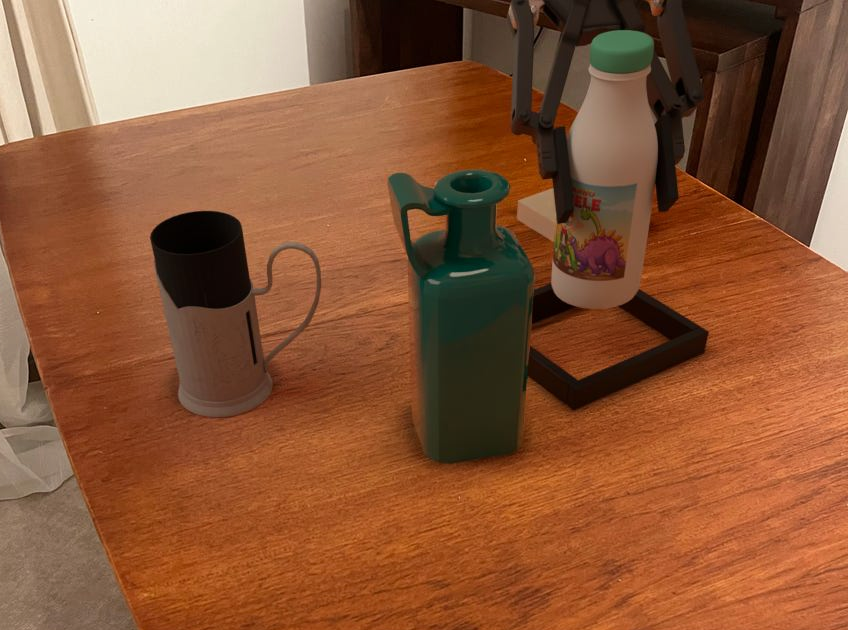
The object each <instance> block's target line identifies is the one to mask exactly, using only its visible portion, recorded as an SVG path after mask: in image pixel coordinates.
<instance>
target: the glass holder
mask: <svg viewBox="0 0 848 630" xmlns="http://www.w3.org/2000/svg"><path fill="white" fill-rule="evenodd" d="M149 239H150V240H149V241H150V244H151V249H152V254H153V258H154V259H153V266H154V272H155V277H156V282H157V286H158V291H159V294H160V299H161V303H162V308H163V312H164V317H165V321H166V325H167V330H168V334H169V335H168V336H169V339H170V344H171V348H172V352H173V357H174V361H175V365H176V370H177V374H178V379H179V385H178V390H177V397H178V400H179V403H180V405H181V406H182V407H183V408H185V409H186V410H187V411H188V412H190V413H193V414H195V415H198V416H201V417H206V418H228V417H229V418H230V417H234V416H235V417H236V416H239V415H241V414H245V413H247V412H250V411H252V410H254V409H256V408H257V407H259V406H261V405H262V404H263V403H264V402H265V401H266V400H267V399H268V398H269V396H270V395H271V394H272V390H273V385H274V384H273V382H274V381H273V379H272V377H271V374H270V373H269V363H270V362H271V361H272V359H274V358H275V356H277V355H278V354H279V353H280V352H281V351H283V350H284V349H285V348H287V346H288V345H290V344H291V343H292V342H293V341H294V340H295V339H296V338H297V337H298V336H300V334H302V333H303V332H304V331H305V329H307V327H309V325H310V323H311V321H312V319H313V317H314V316H315V313H316V311H317V308H318V305H319V302H320V297H321V291H322V268H321V266H320V262H319V258H318V257H317V255H316V253H315V252H314V251H313V249H311V248H310V247H308V246H307V245H305V244H303V243H299V242H296V241H287V242H284V243H281V244H278V246H276V247H275V248H273V250H272V251H271V253H270V254H269V256H268V260H267V265H266V276H267V285H266V286H264V287H263V288H254V284H253V280H252V279H251V278H250V272H249V270H250V269H249V263H248V258H247V250H246V244H245V237H244V232H243V226H242V223H241V221H240V220H239V218H237V217H236V216H234V215H232V214H229V213H227V212H222V211H216V210H198V211H197V210H195V211H187V212H183V213H179V214H177V215H174V216H171V217H169V218H166V219H165V220H163V221H161V222H160V223H158V224H157V225H156V226H155V227H154V228H153V229H152V231H151V232H150V236H149ZM289 249H290V250H291V249H292V250H298V251H300V252H303V253H305V254H307V255H308V256H309V257H310V259H311V260H312V262H313V265H314V268H315V272H316V290H315V295H314V299H313V302H312V305H311V307H310V310H309V312H308V313H307V316H306V317H305V319H304V320H303V321H302V323H300V325H299V326H298V327H297V328H296V329H295V330H294V331H293V332H292V333H291V334H290V335H289V336H288V337H287V338H285V339H284V340H283V341H282V342H280V343H279V344H278V345H277V346H276V347H275V348H274V349H272V351H270V352H269V354H268V355H267V356H266V357H265V356H264V349H263V343H262V337H261V330H260V322H259V316H258V310H257V303H256V297H257V296H263V295H266V294H268V293H269V292H270V291H271V290H272V287H273V263H274V260H275V259H276V257H277V256H278V254H279V253H281V252H283V251H285V250H289ZM255 296H256V297H255Z"/></svg>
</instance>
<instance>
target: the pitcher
mask: <svg viewBox="0 0 848 630" xmlns="http://www.w3.org/2000/svg"><path fill="white" fill-rule="evenodd" d="M387 189H388V196H389V202H390V207H391V208H390V209H391V214H392V219H393V223H394V227H395V230H396V232H397V234H398V237H399V240H400V242H401V244H402V247H403V250H404V251H405V255H406V256H407V290H408V294H407V295H408V327H409V329H408V330H409V359H410V361H409V366H410V395H411V396H410V397H411V398H410V400H411V401H410V402H411V420H412V424H413V426H414V429H415V432H416V435H417V437H418V441H419V443H420V446H421V449H422V453H423V455H425V457H427V458H428V459H429V460H431V461H434V462H437V463H440V464H454V463H460V462H462V463H463V462H468V461H475V460H480V459H488V458H493V457H500V456H506V455H510V454H513V453H515V452H517V451H518V450H519V449H520V448H521V446H522V445H523V442H524V435H525V422H526V421H525V420H526V409H527V394H528V393H527V392H528V380H529V376H528V367H529V353H530V346H531V338H532V337H531V336H532V325H533V324H532V312H533V298H534V289H535V282H536V275H535V274H536V273H535V270H534V267H533V265H532V262H531V261H530V259H529V256H528V255H527V253H526V252H525V250H524V248H523V246H522V245H521V243H520V241H519V240H518V238H517V236H516V234H515V233H514V231H512V230H511V229H510V228H508V227H506V226H504V225H499V224H497V219H498V218H497V216H498V215H497V214H498V204H499V203H501V202H502V201H504V200H505V199H506V198H507V197H508V196H509V195H510V190H511V183H509V181H508V179H507V178H506V177H505V176H503V175H501V174H500V173H497V172H494V171H491V170H486V169H473V168H470V169H462V170H456V171H453V172H450V173H447V174H445V175H443V176H442V177H440V178H439V179H438V180H437V181H436V182H435V184H434V186H433V187H429V186H425V185H422V184H421V183H420V182H418V181H416V179H415V178H414V177H413V176H411V175H410V174H408V173H406V172H396V173H393V174H391V175H390V176H389V177H388V178H387ZM411 210H421V211H422V212H424V213H425V214H426V215H428V216H430V217H443V216H445V229H437V230H433V231H429V232H426V233H424V234H422V235H421V236H419V237H418V238H416V239H415V240H414V241H413V240H411V231H410V223H409V216H408V211H411Z"/></svg>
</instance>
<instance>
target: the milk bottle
mask: <svg viewBox="0 0 848 630" xmlns="http://www.w3.org/2000/svg"><path fill="white" fill-rule="evenodd" d="M645 33H646V32H645ZM645 33H642V32H638V31H631V30H617V31H609V32H605V33H602V34H600V35H598V36H596V37H595V38H594V39H593V40H592V43H591V44H590V48H589V66H588V73H589V74H590V83H589V86H588V89H587V92H586V94H585V98H584V100H583V103H582V104H581V107H580V108H579V111H578V113H577V114H576V116H575V118H574V120H573V122H572V124H571V126H570V128H569V131H568V133H567V135H566V139H567V149H568V158H569V167H570V176H571V185H572V194H573V203H574V212H573V213H572V215H571V216H570V218H569V220H568V221H567V223H561V224H557V217H556V224H555V237H554V242H553V252H552V264H551V279H550V280H551V281H550V283H551V284H552V288H553V290H554V293H555V294H556V295H557V297H559V298H560V299H561V300H562V301H564V302H566V303H568V304H571V305H573V306H576V307H578V308H580V309H587V310H604V309H612V308H617V307H619V305H622V304H624V303H626V302H628V301H630V300H631V299H632V298H633V297H634V296H635V294H636V293H637V291H638V290H639V289H640V287H641V282H642V276H643V269H644V264H645V263H644V262H645V257H646V252H647V251H646V250H647V245H648V244H647V242H648V238H649V237H648V235H649V229H650V223H651V217H652V209H653V203H654V202H653V201H654V196H655V195H654V194H655V189H656V185H655V181H656V171H657V162H658V141H657V134H656V129H655V125H654V124H655V121H654V118H653V115H652V112H651V108H650V106H649V104H648V98H647V90H646V78H647V75H648V74H649V73H650V71H651V67H650V65H651V62H652V58H653V51H654V50H655V41H654V38H653V37H652V36H651V35H649V34H647V33H646V34H645Z"/></svg>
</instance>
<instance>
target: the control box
mask: <svg viewBox="0 0 848 630" xmlns="http://www.w3.org/2000/svg"><path fill="white" fill-rule="evenodd" d="M516 210H517V211H516V220H517V221H518V222H520V223H521V224H524V225H525V226H526V227H528V228H530V229H532V230H533V231H535V232H536V233H538V234H539V235H541V236H542V237H545V238H546V239H547V240H549V241H551V242H553V243H554V237H555V224H556V208H555V199H554V190H553V187H551V188H549V189H546V190H543V191H540V192H538V193H534V194H532V195H529V196H526V197H524V198H521V199H519V200H517V209H516Z"/></svg>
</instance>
